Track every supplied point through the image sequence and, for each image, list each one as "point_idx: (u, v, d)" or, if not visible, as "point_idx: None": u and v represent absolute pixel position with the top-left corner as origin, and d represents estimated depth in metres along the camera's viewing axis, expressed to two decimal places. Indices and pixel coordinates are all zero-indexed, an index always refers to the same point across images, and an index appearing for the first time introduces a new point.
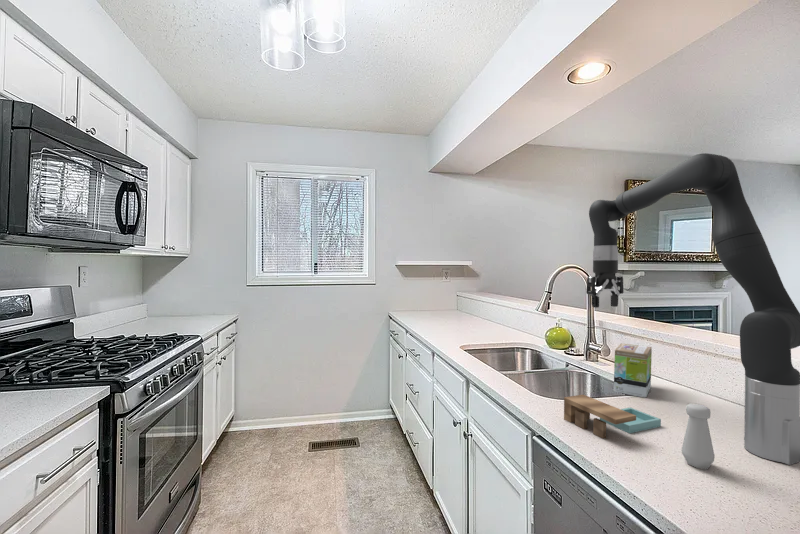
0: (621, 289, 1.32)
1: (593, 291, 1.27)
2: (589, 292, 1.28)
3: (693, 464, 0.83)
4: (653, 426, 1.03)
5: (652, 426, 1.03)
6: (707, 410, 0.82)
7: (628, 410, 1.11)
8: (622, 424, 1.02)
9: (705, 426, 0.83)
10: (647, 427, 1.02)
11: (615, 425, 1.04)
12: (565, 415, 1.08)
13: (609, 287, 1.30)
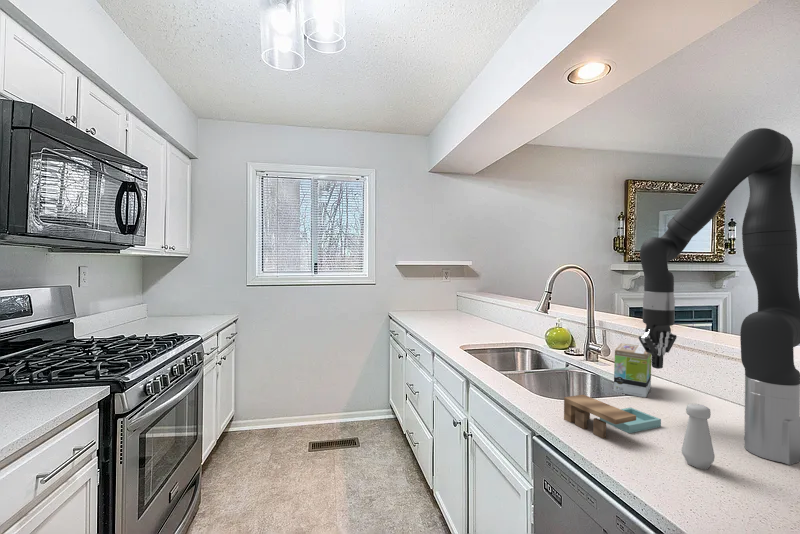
0: (668, 347, 1.10)
1: (655, 350, 1.08)
2: (649, 351, 1.09)
3: (693, 464, 0.83)
4: (653, 426, 1.03)
5: (652, 426, 1.03)
6: (707, 410, 0.82)
7: (628, 410, 1.11)
8: (621, 424, 1.02)
9: (705, 426, 0.83)
10: (647, 427, 1.02)
11: (615, 425, 1.04)
12: (565, 415, 1.08)
13: None
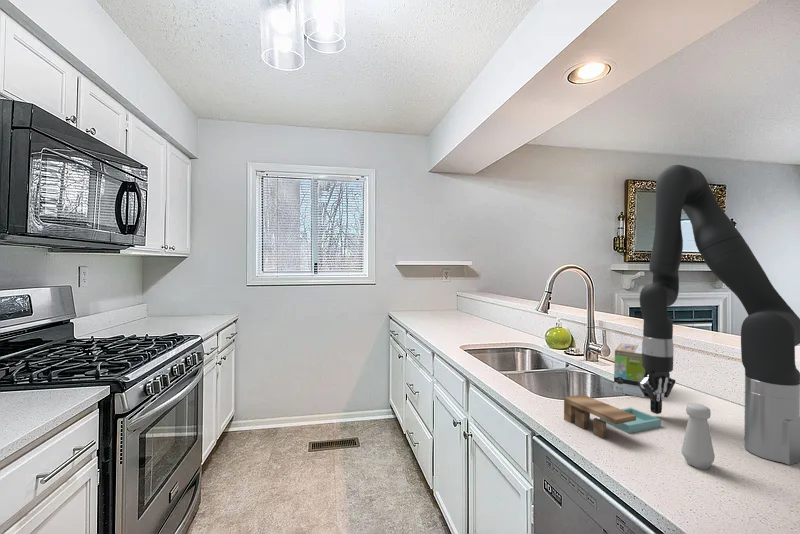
0: (667, 392, 1.10)
1: (654, 396, 1.08)
2: (648, 396, 1.09)
3: (693, 464, 0.83)
4: (653, 426, 1.03)
5: (652, 426, 1.03)
6: (707, 410, 0.82)
7: (628, 410, 1.11)
8: (621, 424, 1.02)
9: (705, 426, 0.83)
10: (647, 427, 1.02)
11: (615, 425, 1.04)
12: (565, 415, 1.08)
13: None
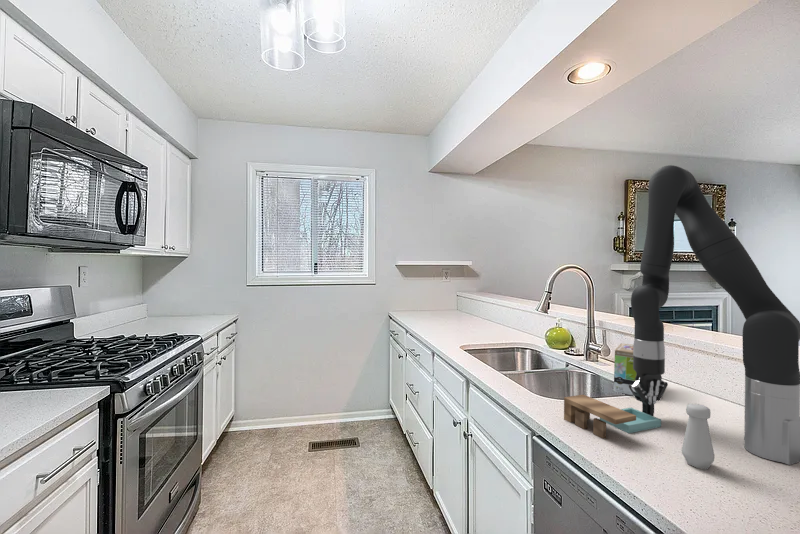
0: (659, 395, 1.09)
1: (645, 399, 1.07)
2: (640, 399, 1.08)
3: (693, 464, 0.83)
4: (653, 426, 1.03)
5: (652, 426, 1.03)
6: (707, 410, 0.82)
7: (628, 410, 1.11)
8: (621, 424, 1.02)
9: (705, 426, 0.83)
10: (647, 427, 1.02)
11: (615, 425, 1.04)
12: (565, 415, 1.08)
13: None
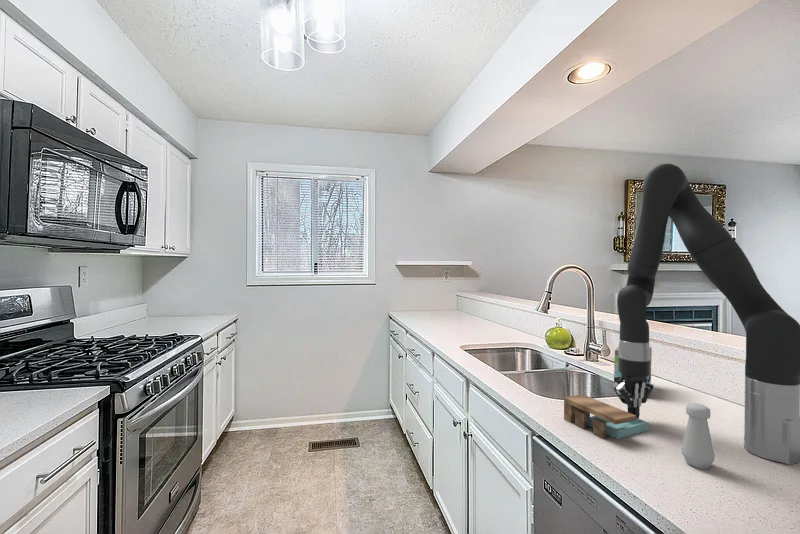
0: (645, 398, 1.07)
1: (630, 402, 1.05)
2: (625, 402, 1.06)
3: (693, 464, 0.83)
4: (641, 430, 1.01)
5: (640, 430, 1.00)
6: (707, 410, 0.82)
7: None
8: (610, 429, 0.99)
9: (705, 426, 0.83)
10: (635, 431, 1.00)
11: None
12: (565, 415, 1.08)
13: None
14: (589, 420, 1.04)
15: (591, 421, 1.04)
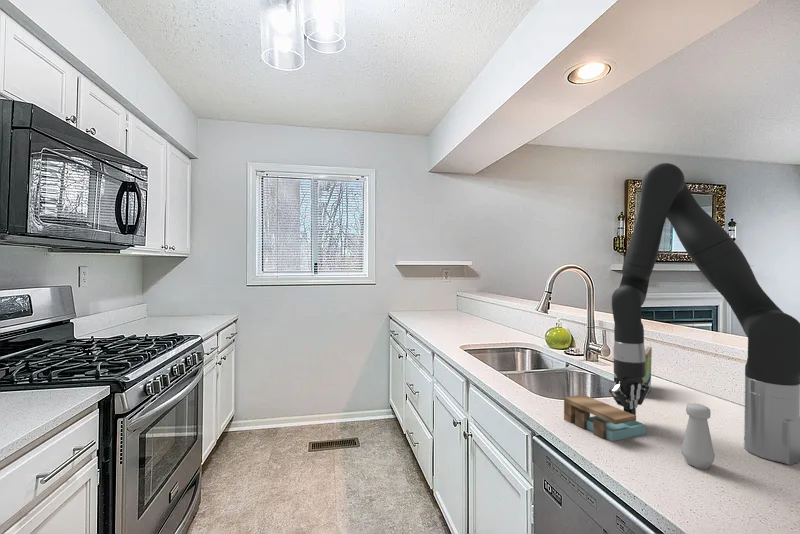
0: (641, 399, 1.06)
1: (626, 403, 1.04)
2: (621, 404, 1.05)
3: (693, 464, 0.83)
4: (638, 432, 0.99)
5: (637, 432, 0.99)
6: (707, 410, 0.82)
7: None
8: None
9: (705, 426, 0.83)
10: (631, 433, 0.98)
11: None
12: (565, 415, 1.08)
13: None
14: None
15: (587, 422, 1.03)
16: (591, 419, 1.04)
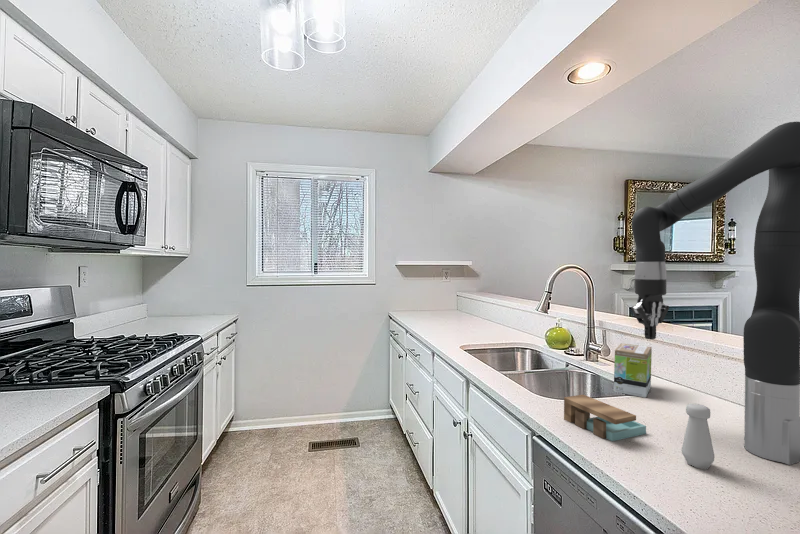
0: (661, 318, 1.09)
1: (647, 320, 1.07)
2: (642, 321, 1.08)
3: (693, 464, 0.83)
4: (638, 433, 0.99)
5: (637, 433, 0.99)
6: (707, 410, 0.82)
7: None
8: None
9: (705, 426, 0.83)
10: (631, 434, 0.98)
11: None
12: (565, 415, 1.08)
13: None
14: None
15: (587, 423, 1.03)
16: (591, 420, 1.04)
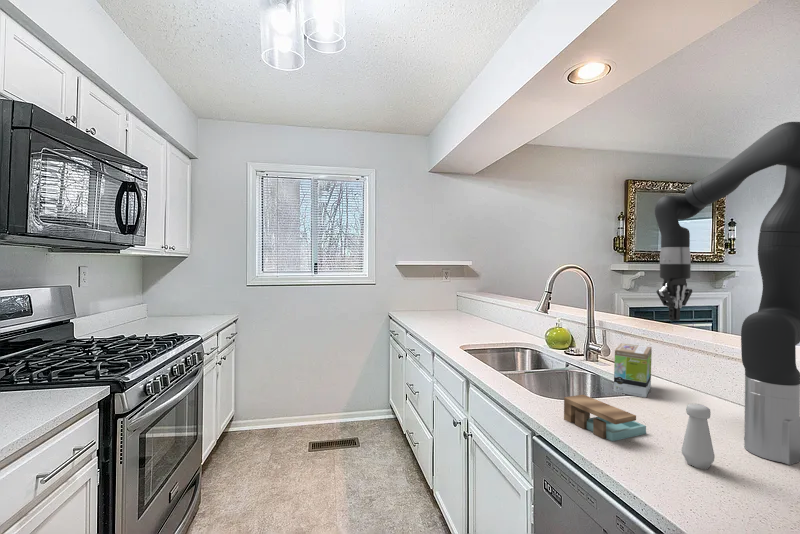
0: (685, 301, 1.15)
1: (672, 302, 1.13)
2: (667, 304, 1.14)
3: (693, 464, 0.83)
4: (638, 433, 0.99)
5: (637, 433, 0.99)
6: (707, 410, 0.82)
7: None
8: None
9: (705, 426, 0.83)
10: (631, 434, 0.98)
11: None
12: (565, 415, 1.08)
13: None
14: None
15: (587, 423, 1.03)
16: (591, 420, 1.04)
